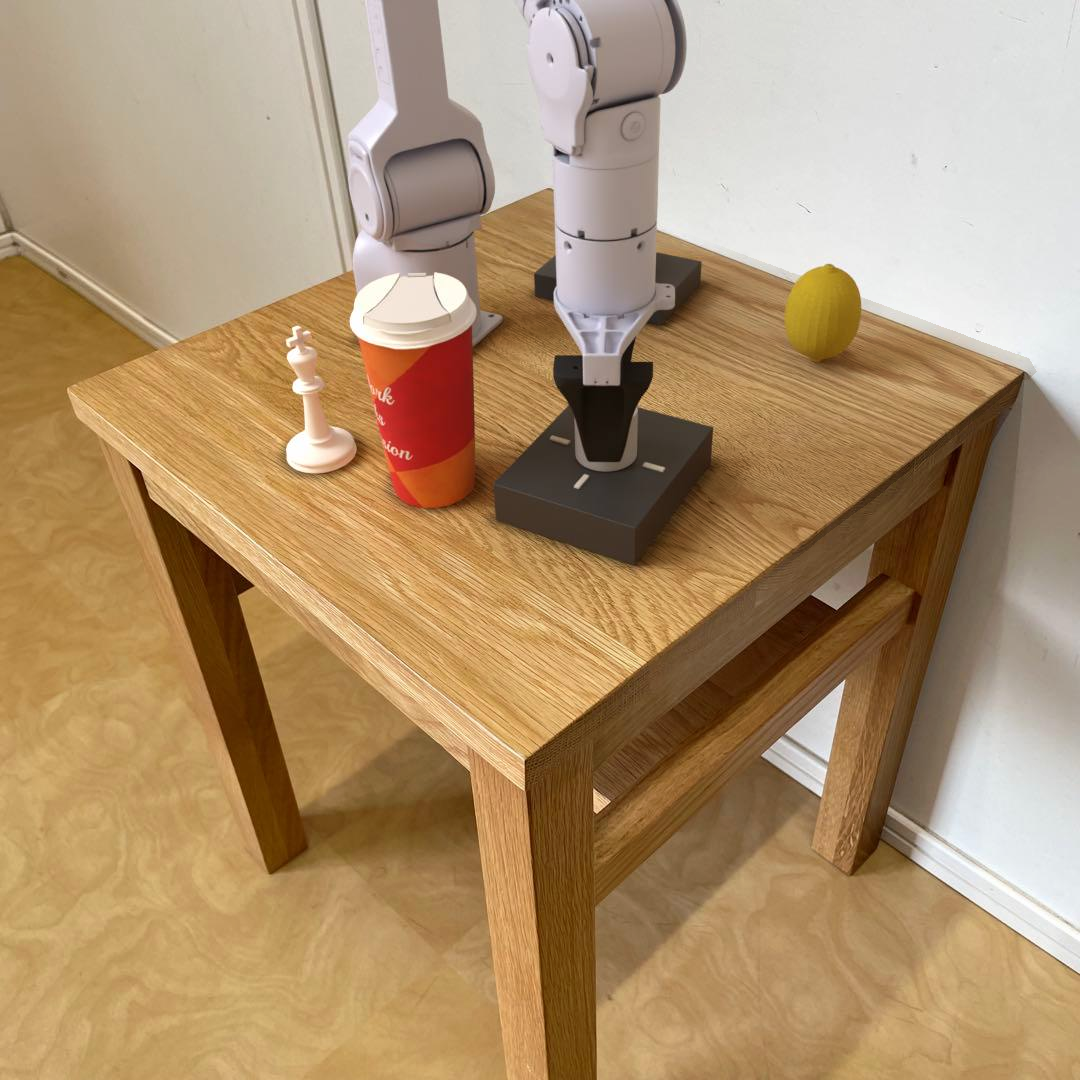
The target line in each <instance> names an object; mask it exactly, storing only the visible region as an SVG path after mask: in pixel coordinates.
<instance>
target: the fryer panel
mask: <svg viewBox="0 0 1080 1080" xmlns="http://www.w3.org/2000/svg"><path fill="white" fill-rule="evenodd" d="M637 407H638V406H637ZM713 437H714V427H713V426H711V425H707V424H703V423H700V422H697V421H692V420H688V419H684V418H680V417H676V416H672V415H669V414H665V413H661V412H658V411H654V410H650V409H646V408H643V407H638V430H637V457H636V459H635V460H634V462H633V463H632V464H630V465H629V466H627V467H626V468H623V469H620V470H617V471H610V472H602V471H595V470H591V469H588V468H586V467H584V466H583V465H581V464H580V463H579V462H578V460H577V459H576V455H575V421H574V415H573V412H572V410H571V408H570V406H569V404H568V405H567V407H565V408H564V409H563V411H562V412H561V413H559V415H558V416H557V417H555V418H554V420H552V422H551V423H550V424H549V425H548V426H547V427H546V428H545V429H544V430H543V431H542V432H541V433H540V434H539V435H538V436H537V437H536V438H535V439H534V441H532V442H531V444H530V445H529V446H528V447H527V448H526V449H525V450H524V451H523V452H522V453H521V454H520V455H519V456H518V457H517V458H516V459H515V460H514V461H513V462H512V463H511V465H509V466H508V467H507V468H506V469H505V470H504V472H502V474H501V475H500V476H499V477H498V478H497V479H496V480H495V481H494V482H493V483H492V490H493V491H492V492H493V501H494V513H495V521H497V522H500V523H503V524H506V525H509V526H511V527H515V528H518V529H521V530H524V531H527V532H531V533H534V534H536V535H539V536H543V537H546V538H548V539H552V540H556V541H558V542H561V543H564V544H567V545H570V546H573V547H576V548H579V549H583V550H585V551H589V552H591V553H594V554H598V555H601V556H604V557H607V558H610V559H613V560H616V561H619V562H621V563H625V564H629V565H631V566H636V565H637V563H638V562H639V561H640V560H641V558H642V557H643V555H644V554H645V553H646V551H647V550H648V549H649V547H650V546H651V544H652V543H653V542H654V541H655V540H656V538H657V537H658V535H659V534H660V533H661V531H662V530H663V529H664V527H665V526H666V524H667V523H668V522H669V521H670V520H671V518H672V516H673V515H674V513H675V512H676V511H677V510H678V508H679V507H680V505H682V503H683V501H684V500H685V499H686V498H687V496H688V495H689V493H690V492H692V490H693V488H694V487H695V485H696V484H697V483H698V481H699V480H700V479H701V477H702V476H703V474H704V473H705V472H706V471H707V469H708V468H709V466H711V463H712V453H713Z"/></svg>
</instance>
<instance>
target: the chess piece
mask: <svg viewBox="0 0 1080 1080" xmlns="http://www.w3.org/2000/svg"><path fill="white" fill-rule="evenodd" d="M291 330H292V334H293V336H291V337H289V338H286V339H285V343H286V347H288V348H290V349H291V350H290V351H288V352H287V354H286V359H287V361H288V363H289V365H290V366H291V367H292V370H293V371H294V373H295V376H297V379H295V380H294V381H293V383H292V391H293V392H294V393H295V394H297V395H300V396H302V400H303V413H304V414H303V415H304V430H302V431H301V432H299V433H297V434H296V435H294V436H293V437H292V438H291V439H290V440H289V441H288V443H287V444H286V450H285V451H286V452H285V453H286V461H287V463H288V465H289V466H290V467H291V468H293V469H294V470H295V471H297V472H301V473H304V474H305V473H306V474H324V473H325V474H326V473H330V472H333V471H336V470H339V469H341V468H342V467H344V466H346V465H348V464H349V463H350V462H351V461H353V459H354V458H355V456H356V454H357V450H358V448H357V444H356V442H355V439H354V436H353V435H352V433H350V432H349V431H348V430H346V429H344V428H341V427H338V426H332V425H329V423H328V421H327V419H326V415H325V412H324V410H323V406H322V404H321V400H320V397H319V394H318V393H319V392H320V391H322V390H323V389H324V387H325V382H324V381H323V380H324V379H322V377H320V376H318V375H315V374H316V367H317V362H318V354H319V353H318V351H317V350H316V349H315V348H314V347H311V346H307V345H306V344H305V342H307V341H310V340H312V339H313V336H312V332H310V331H309V330H305V331H303V329H302V327H301V326H299V325H295V326H293V327H291Z"/></svg>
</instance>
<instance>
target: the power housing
mask: <svg viewBox="0 0 1080 1080" xmlns="http://www.w3.org/2000/svg"><path fill="white" fill-rule="evenodd" d="M702 265H703V261H701V260H697V259H693V258H687V257H683V256H677V255H672V254H667V253H662V252H658V251H656V274H655V283H659V284H671V285H673V286H674V288H675V306H674V308H672V309H670V310H657V311H655V312H654V313H653V314H652V316H651V317H650V318H649V320H648V321H647V322H646V323H650V324H655V325H658V326H663V325H664V324H665V323H666V322H667V320H669V319H670V317H672V316H673V314H674V313H675V312H676V311H677V310H678V309H679V308H680V307H681V306H682V305H683V304H684V302H685V301H687V300H688V299H689V297H690V296H691V295H692V294H693V293H694V292H695V291H696V290H697V289H698V288H699V287H700V286H701V281H702ZM533 280H534V281H533V283H534V297H537V298H542V299H546V300H550V301H554V290H555V288H556V286H557V279H556V254H554V256H553V257H551V259H549V260H548V261H546V262H545V263H544V264H542V265H541V267H539V268H538V269H537V270H536V271H535V272H534V273H533Z"/></svg>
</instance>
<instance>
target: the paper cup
mask: <svg viewBox="0 0 1080 1080" xmlns="http://www.w3.org/2000/svg"><path fill="white" fill-rule="evenodd" d="M353 303H354V304H353V310H352V312H351V313H350V317H349V325H350V329H351V331H352V332H353V333H354V334H355V336H356V337H357V336H358V338H357V340H358V343H359V348H360V351H361V356H362V360H363V363H364V368H365V369H364V370H365V374H366V378H367V382H368V387H369V390H370V396H371V399H372V403H373V408H374V409H373V410H374V412H375V417H376V422H377V425H378V431H379V434H380V439H381V444H382V447H383V451H384V456H385V461H386V465H387V468H388V473H389V476H390V480H391V484H392V488H393V490H394V493H395V495H396V496H397V497H398V499H399V500H401V501H402V502H403V503H405V504H407V505H409V506H412V507H416V508H421V509H437V508H443V507H448V506H451V505H453V504H456V503H458V502H461V501H462V500H464V499H465V498H467V496H468V495H469V494H470V493H471V492H472V491H473V489H474V487H475V483H476V425H475V424H476V423H475V421H476V420H475V386H474V385H475V383H474V352H473V351H474V349H473V348H474V346H473V344H472V324H473V322H474V320H475V318H476V315H477V310H476V306H475V304H474V303H473V301H472V300H471V298H470V297H469V295H468V292H467V289H466V288H465V287H464V285H463V284H462V283H461V282H460V281H459V280H457V279H455V278H453V277H451V276H448V275H445V274H441V273H436V272H435V273H434V279H433V275H429V276H426V273H408V276H400V273H397V274H393V275H389V276H385V277H383V278H380V279H377V280H375V281H373V282H371V283H370V284H368V285H366V286H365V287H364V288H363V289H361V291H360V292H359V293H358V295H357V294H356V297H355V298H354V302H353Z"/></svg>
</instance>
